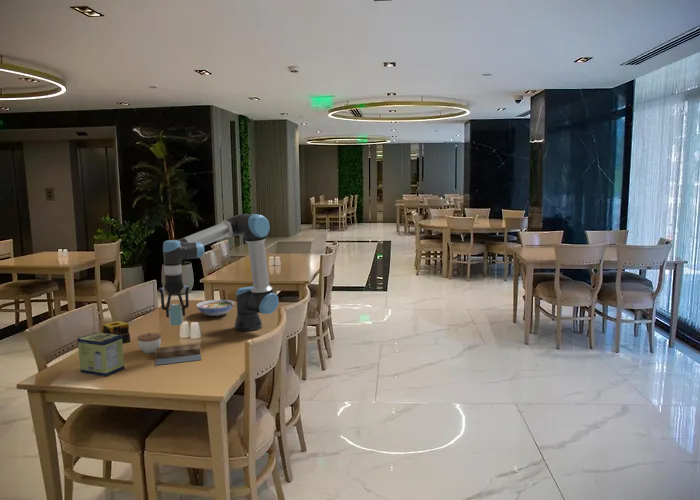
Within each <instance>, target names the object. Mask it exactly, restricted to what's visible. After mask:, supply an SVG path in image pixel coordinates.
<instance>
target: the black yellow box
mask: <svg viewBox="0 0 700 500" xmlns="http://www.w3.org/2000/svg"><path fill="white" fill-rule="evenodd" d="M129 329H130V327H129V323H128V322H124V321H123V320H122V321H121V320H117V321H113V322H112V321H111V322H107V323H104V324H103V323H102V324H101V330H102V333H106V334H115V335H122V345H123V344H127V343H131V334H130V331H129Z"/></svg>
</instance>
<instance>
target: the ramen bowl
mask: <svg viewBox="0 0 700 500" xmlns="http://www.w3.org/2000/svg"><path fill="white" fill-rule="evenodd" d="M234 304H235V301H233V300H232V299H231V300H229V299H224V298H223V297H221V298H220V299H210V300H209V299H208V300H204V301H200V302H198V303H196V308H197V310H198V311H199V312H200V313H202V314H203V315H206V316H209V317H212V316H217V317H220V315H221V316H222V315H225V314H227V313H228V312H230V311H231V310H232V308H233V306H234Z"/></svg>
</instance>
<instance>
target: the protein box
mask: <svg viewBox="0 0 700 500" xmlns="http://www.w3.org/2000/svg"><path fill="white" fill-rule="evenodd" d="M123 348H124V347H123V344H122V335H115V334H106V333H103V332H98V331H96V332H93V333H91V334H87V335H84V336H80V337H79V338H77V349H78V359H79V370H80V371H79V373H81V374H88V375H94V376H100V377H105V378H106V377H109V376H111V375H113V374H115V373H116V374H117V372H118V373H119V371H123V370H125V362H124V361H125V360H124V349H123Z"/></svg>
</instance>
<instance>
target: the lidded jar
mask: <svg viewBox="0 0 700 500" xmlns="http://www.w3.org/2000/svg"><path fill="white" fill-rule="evenodd" d="M161 342H162V334H161V333H158V332H147V333H143V334H140V335H138V336H137V343H138V347H139V349H140V350H141V352H143V353H144V354H154V353H156V348H161Z"/></svg>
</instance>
